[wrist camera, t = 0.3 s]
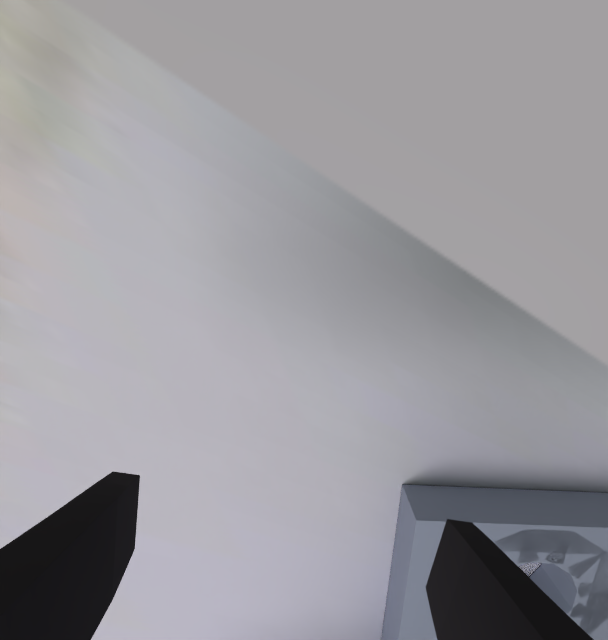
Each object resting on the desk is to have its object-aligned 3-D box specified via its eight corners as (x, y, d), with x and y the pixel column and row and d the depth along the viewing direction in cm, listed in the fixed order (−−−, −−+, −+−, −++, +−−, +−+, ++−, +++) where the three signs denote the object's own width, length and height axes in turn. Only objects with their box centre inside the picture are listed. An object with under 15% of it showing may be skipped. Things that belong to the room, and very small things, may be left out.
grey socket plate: (573, 689, 24) (604, 742, 21) (375, 683, 23) (383, 736, 21) (636, 493, 20) (682, 530, 17) (402, 484, 20) (416, 520, 17)
